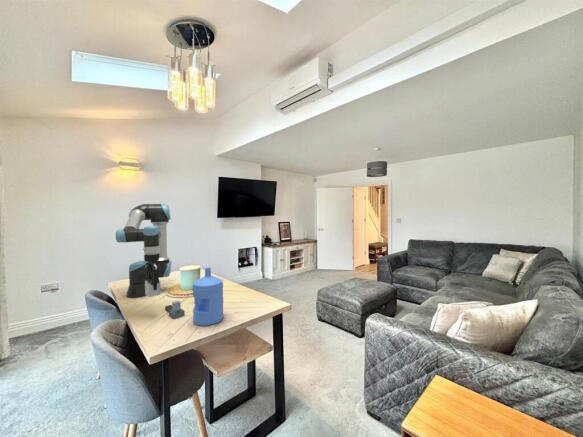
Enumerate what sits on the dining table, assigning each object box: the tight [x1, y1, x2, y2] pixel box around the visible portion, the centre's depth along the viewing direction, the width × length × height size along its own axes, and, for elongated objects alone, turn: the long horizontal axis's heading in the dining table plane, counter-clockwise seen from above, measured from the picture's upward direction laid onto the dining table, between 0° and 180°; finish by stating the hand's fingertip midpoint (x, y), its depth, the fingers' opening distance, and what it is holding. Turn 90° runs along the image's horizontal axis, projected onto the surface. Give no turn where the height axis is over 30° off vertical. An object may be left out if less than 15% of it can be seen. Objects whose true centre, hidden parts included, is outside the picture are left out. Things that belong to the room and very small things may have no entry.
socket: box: [145, 279, 161, 298], centre depth 137 cm, size 6×6×8 cm
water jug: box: [192, 267, 225, 327], centre depth 131 cm, size 16×16×28 cm
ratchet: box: [164, 300, 186, 320], centre depth 140 cm, size 17×6×8 cm, turn 46°
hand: (152, 293), depth 137 cm, fingers closed on socket, 6 cm apart
